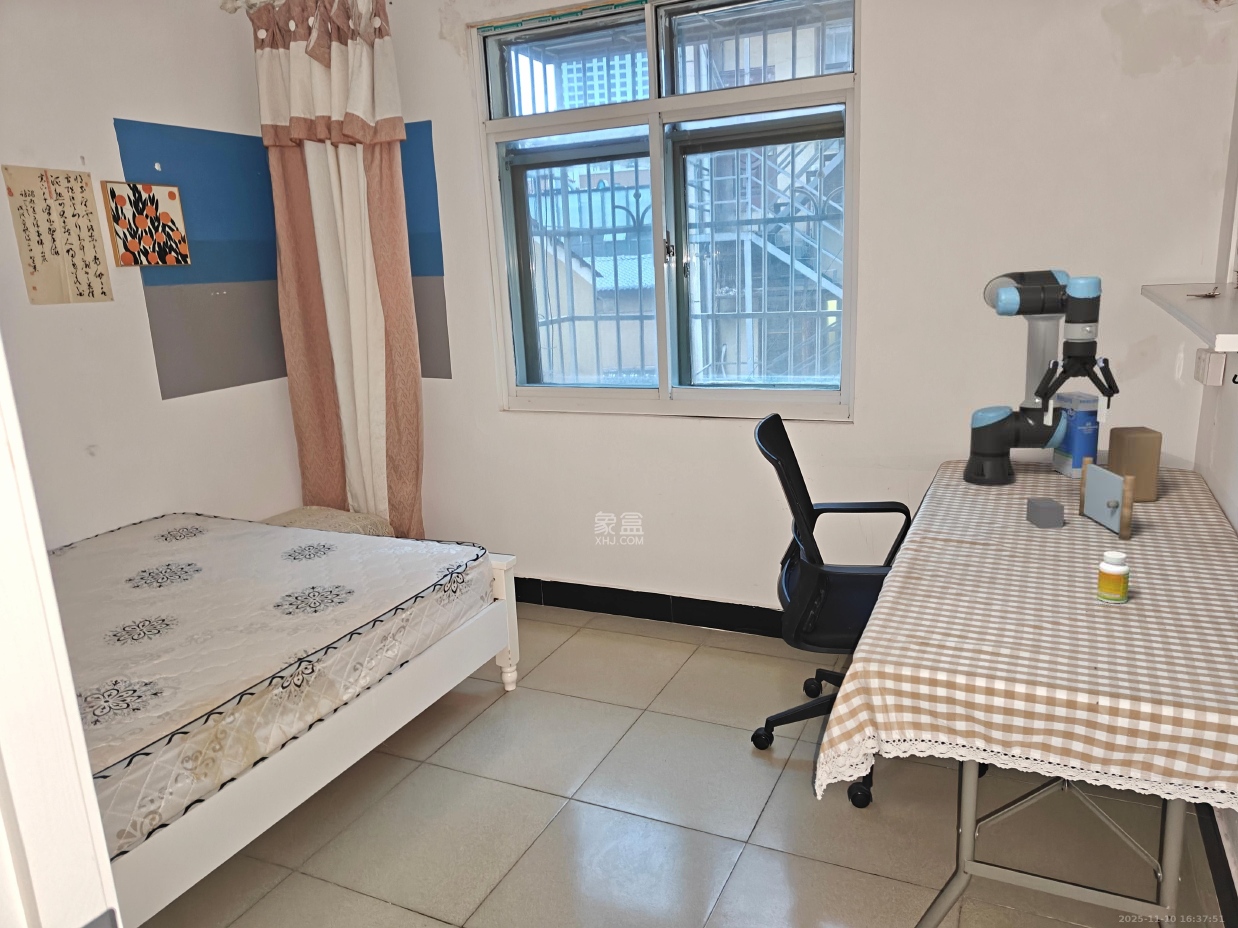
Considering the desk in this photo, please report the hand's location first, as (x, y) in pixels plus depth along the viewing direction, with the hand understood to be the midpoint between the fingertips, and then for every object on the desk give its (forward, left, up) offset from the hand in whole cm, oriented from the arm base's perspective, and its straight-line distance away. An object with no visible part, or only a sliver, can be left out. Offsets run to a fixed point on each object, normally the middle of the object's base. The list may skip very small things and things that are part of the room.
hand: (1074, 423), depth 214 cm
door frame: (+4, +7, -27) cm, 28 cm away
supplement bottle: (+51, -15, -27) cm, 60 cm away
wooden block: (-22, +27, -27) cm, 44 cm away
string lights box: (-52, +25, -27) cm, 64 cm away
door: (+3, +6, -26) cm, 27 cm away
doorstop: (-1, -6, -27) cm, 28 cm away
